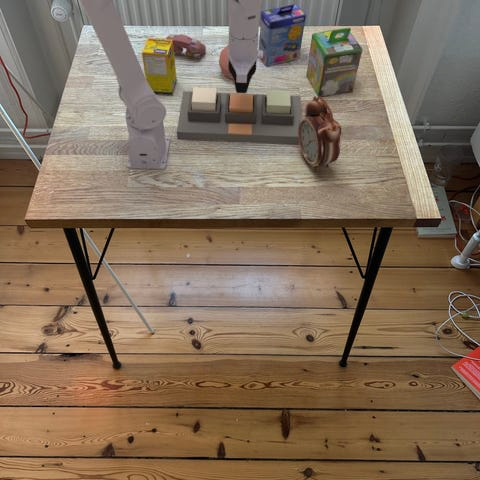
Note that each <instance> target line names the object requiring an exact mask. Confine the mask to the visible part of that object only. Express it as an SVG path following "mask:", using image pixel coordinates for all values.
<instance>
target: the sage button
mask: <svg viewBox="0 0 480 480" xmlns="http://www.w3.org/2000/svg"><path fill="white" fill-rule="evenodd" d="M266 95H267V97H266V113H269V114H290V107H291V104H290V96H291V91H290V90H267V89H266Z"/></svg>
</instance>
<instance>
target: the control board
mask: <svg viewBox="0 0 480 480" xmlns="http://www.w3.org/2000/svg"><path fill="white" fill-rule="evenodd" d="M230 94H240V93H237V92H217V102H216V111H196V110H192V96H193V91H188V90H187V91H186V90H183V91H182V97H181V103H180V104H181V105H180V110H179V116H178V122H177V127H176V128H177V129H176V138H177V140H189V141H190V140H193V141H195V140H196V141H216V142H219V141H220V142H222V141H223V142H238V143H240V142H241V143H243V142H245V143H266V144H267V143H268V144H289V145H290V144H294V145H295V144H296V145H300V144H299V139H298V127H299V122H300V119H301V117H302V116H303V114H302V101H301V100H302V99H301V96H300V95H290V104H291V107H290V114H269V113H266V97H267V94H259V93H249V94H250V95H253V111H252V113H244V112H229V105H230Z"/></svg>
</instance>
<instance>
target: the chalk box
mask: <svg viewBox="0 0 480 480" xmlns="http://www.w3.org/2000/svg"><path fill="white" fill-rule="evenodd" d="M351 31H352V28H351V27H345V28H344V27H343V28H337V29H332V30H323V31H319V32H314V33H312V34H311V40H310V47H309V55H308V62H307V70H306V76H307V79H308V81H309V83H310V84H311V86H312V87H313V89H314V91H315V93H316V94H317V97H324V96H331V95H337V94H339V95H340V94H343V93H352V92H354V85H355V82H356V78H357V74H358V70H359V66H360V62H361V57H362V54H363V49H364V48H363V47H362V46H361V45H360V43H359V42H358V41H357V39H356V37H355V36H354V35H353V34H352V32H351Z"/></svg>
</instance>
